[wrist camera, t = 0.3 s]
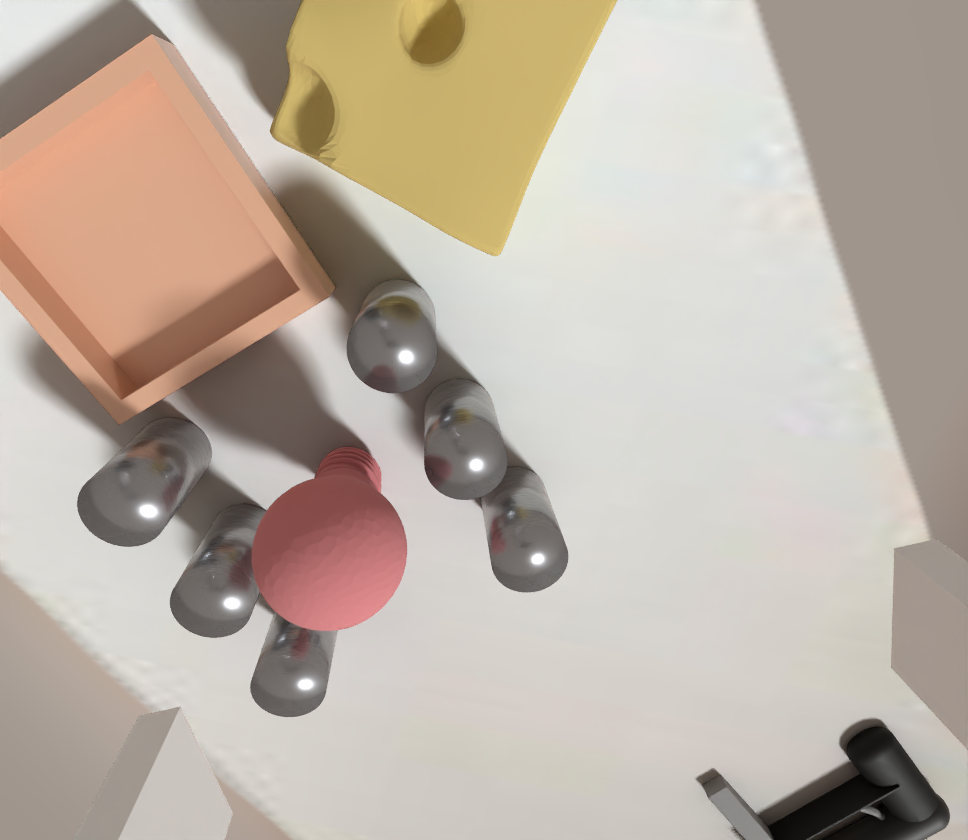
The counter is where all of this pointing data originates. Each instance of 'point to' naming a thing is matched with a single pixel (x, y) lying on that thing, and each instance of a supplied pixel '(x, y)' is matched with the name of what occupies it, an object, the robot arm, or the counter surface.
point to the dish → (145, 233)
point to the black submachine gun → (851, 800)
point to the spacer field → (228, 543)
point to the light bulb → (331, 546)
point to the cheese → (436, 99)
